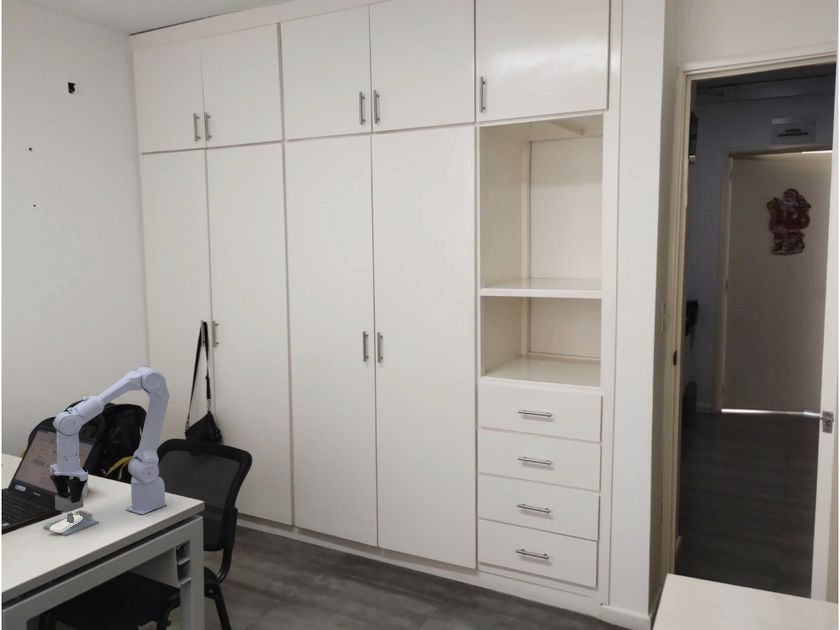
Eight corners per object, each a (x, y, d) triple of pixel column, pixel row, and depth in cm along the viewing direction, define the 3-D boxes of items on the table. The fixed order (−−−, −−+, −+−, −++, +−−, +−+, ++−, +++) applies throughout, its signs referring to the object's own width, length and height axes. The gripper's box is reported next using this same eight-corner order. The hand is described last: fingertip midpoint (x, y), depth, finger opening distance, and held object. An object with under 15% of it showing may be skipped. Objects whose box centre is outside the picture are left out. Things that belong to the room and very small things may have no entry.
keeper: (77, 516, 210) (76, 504, 210) (98, 523, 205) (98, 511, 205) (43, 528, 201) (43, 516, 200) (65, 536, 196) (65, 524, 196)
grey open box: (72, 503, 205) (71, 490, 205) (83, 506, 203) (82, 493, 203) (55, 509, 201) (54, 495, 201) (66, 512, 198) (66, 499, 198)
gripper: (39, 453, 200) (41, 499, 202) (71, 462, 193) (73, 509, 195) (62, 447, 206) (63, 491, 208) (94, 455, 200) (95, 501, 201)
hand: (69, 499), depth 202 cm, fingers closed on grey open box, 5 cm apart
